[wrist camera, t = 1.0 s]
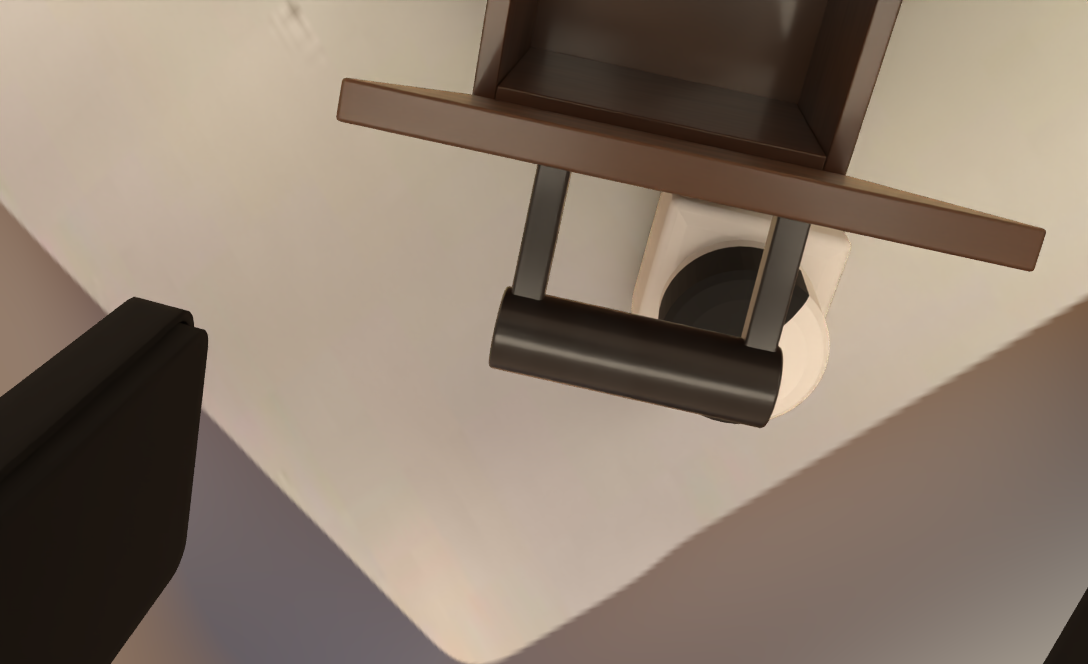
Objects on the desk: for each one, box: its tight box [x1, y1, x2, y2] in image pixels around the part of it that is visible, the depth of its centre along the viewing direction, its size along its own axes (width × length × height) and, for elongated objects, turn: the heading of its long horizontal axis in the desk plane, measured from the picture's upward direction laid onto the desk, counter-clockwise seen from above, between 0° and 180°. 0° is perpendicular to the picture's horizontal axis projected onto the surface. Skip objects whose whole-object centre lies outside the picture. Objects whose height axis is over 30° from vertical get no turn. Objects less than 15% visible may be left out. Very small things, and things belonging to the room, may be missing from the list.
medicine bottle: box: [631, 192, 851, 424], centre depth 41 cm, size 7×7×12 cm
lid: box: [336, 78, 1046, 428], centre depth 27 cm, size 16×13×5 cm
